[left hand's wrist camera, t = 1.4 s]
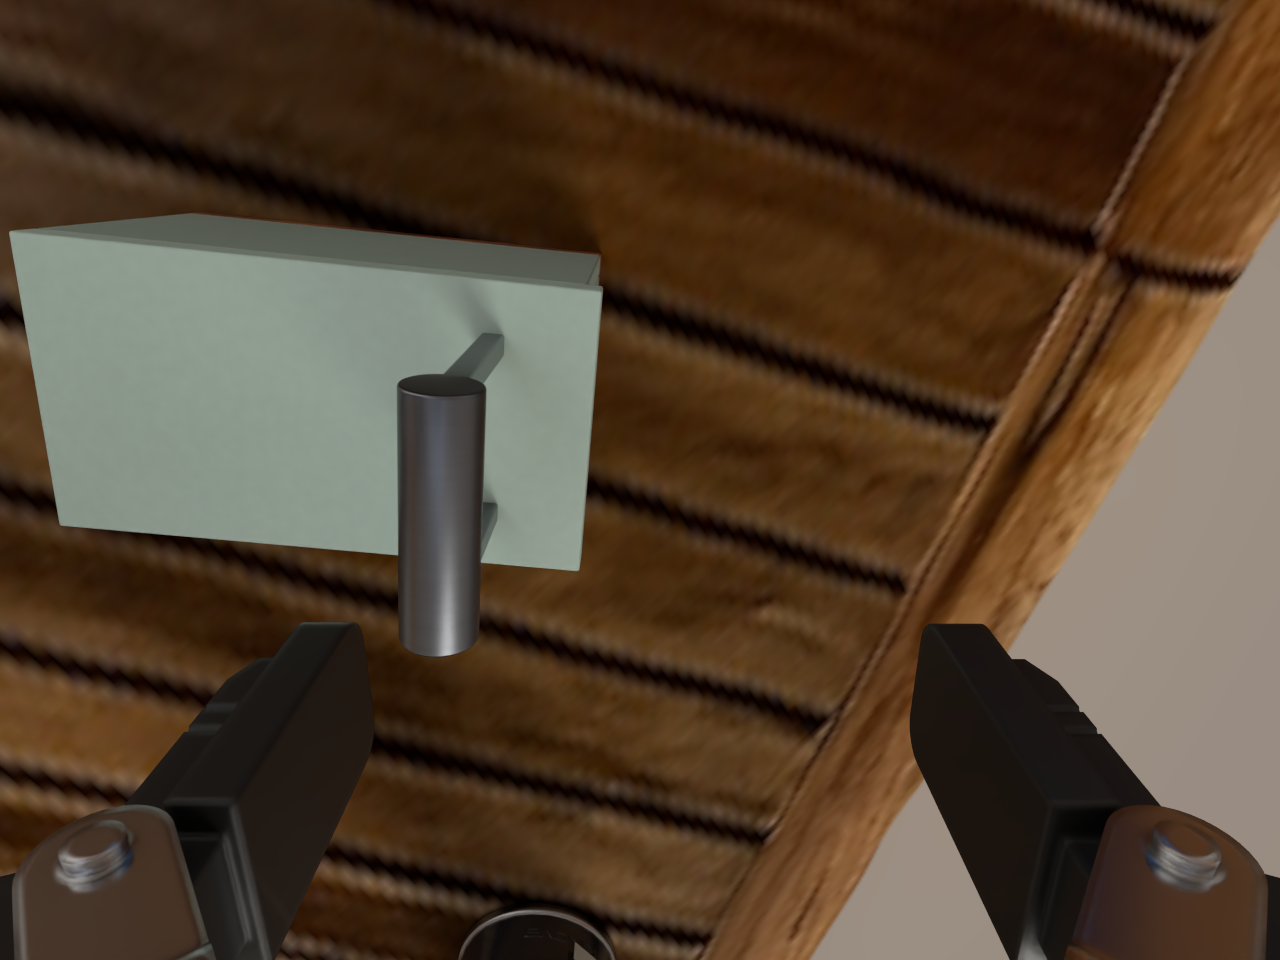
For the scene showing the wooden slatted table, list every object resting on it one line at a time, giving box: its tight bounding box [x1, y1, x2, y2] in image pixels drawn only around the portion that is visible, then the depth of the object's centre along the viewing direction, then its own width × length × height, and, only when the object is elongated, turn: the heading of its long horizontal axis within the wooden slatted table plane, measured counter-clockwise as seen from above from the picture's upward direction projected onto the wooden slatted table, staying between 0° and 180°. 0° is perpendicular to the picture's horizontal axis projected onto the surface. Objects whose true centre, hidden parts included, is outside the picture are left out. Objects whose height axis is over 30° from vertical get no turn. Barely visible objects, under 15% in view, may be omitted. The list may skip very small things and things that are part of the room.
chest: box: [38, 212, 602, 286], centre depth 31 cm, size 17×9×10 cm, turn 84°
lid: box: [9, 229, 603, 657], centre depth 22 cm, size 17×9×9 cm, turn 84°
